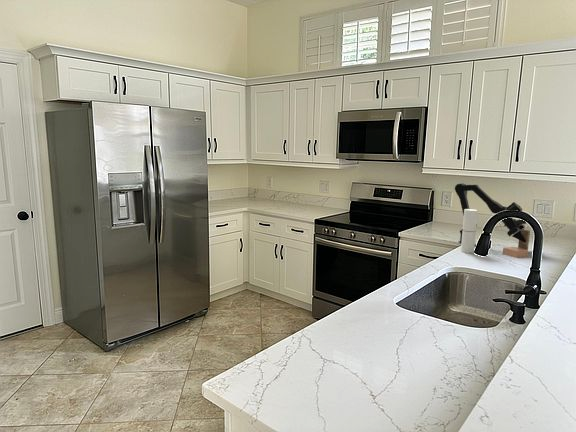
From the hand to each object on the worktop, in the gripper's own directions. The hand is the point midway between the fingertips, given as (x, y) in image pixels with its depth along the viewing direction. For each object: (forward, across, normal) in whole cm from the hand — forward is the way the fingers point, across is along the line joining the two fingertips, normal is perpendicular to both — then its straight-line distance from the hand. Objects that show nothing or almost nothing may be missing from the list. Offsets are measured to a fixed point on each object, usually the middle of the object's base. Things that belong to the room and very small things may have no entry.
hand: (526, 241), depth 241 cm
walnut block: (+4, 0, +6) cm, 7 cm away
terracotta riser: (+3, -13, +7) cm, 15 cm away
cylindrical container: (-13, -24, +23) cm, 36 cm away
